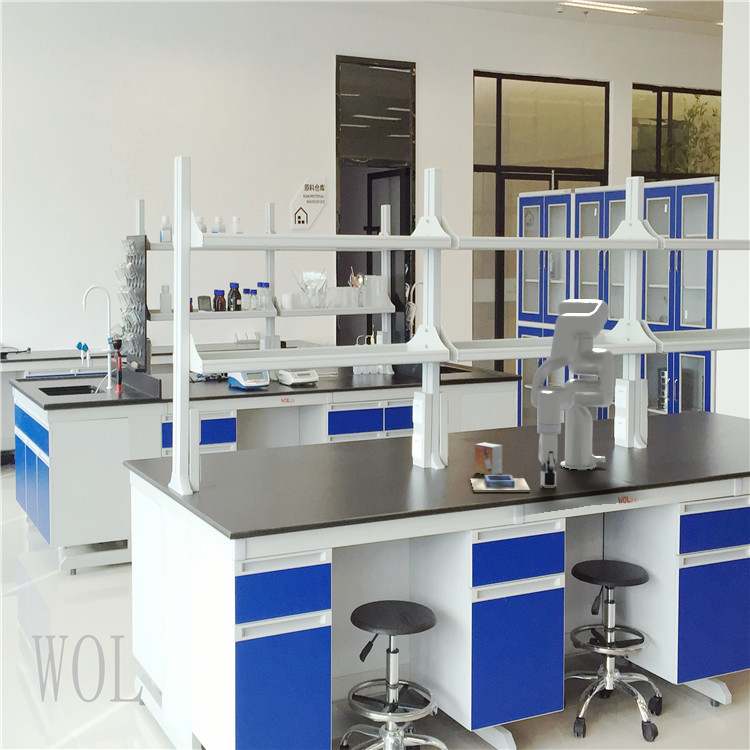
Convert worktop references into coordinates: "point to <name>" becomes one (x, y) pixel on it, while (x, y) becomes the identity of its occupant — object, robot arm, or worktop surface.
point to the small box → (488, 458)
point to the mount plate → (499, 483)
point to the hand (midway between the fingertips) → (548, 482)
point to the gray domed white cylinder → (543, 471)
